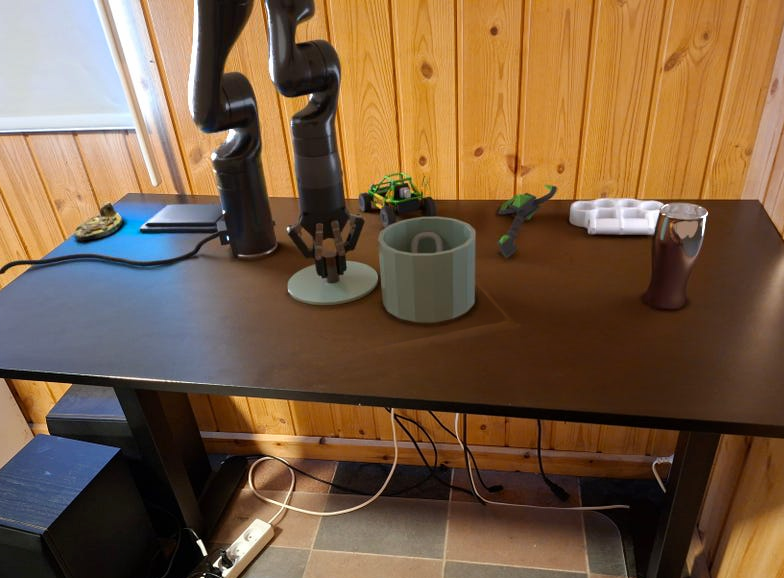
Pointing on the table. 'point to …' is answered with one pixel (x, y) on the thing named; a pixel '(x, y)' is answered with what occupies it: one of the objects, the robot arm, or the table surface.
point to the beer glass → (674, 253)
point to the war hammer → (520, 216)
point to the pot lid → (332, 282)
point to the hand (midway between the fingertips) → (331, 274)
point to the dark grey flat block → (185, 218)
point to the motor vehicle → (397, 199)
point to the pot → (427, 269)
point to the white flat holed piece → (616, 216)
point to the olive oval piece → (100, 224)
